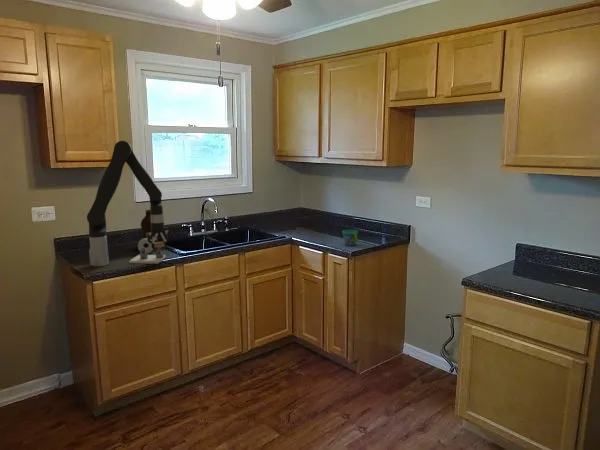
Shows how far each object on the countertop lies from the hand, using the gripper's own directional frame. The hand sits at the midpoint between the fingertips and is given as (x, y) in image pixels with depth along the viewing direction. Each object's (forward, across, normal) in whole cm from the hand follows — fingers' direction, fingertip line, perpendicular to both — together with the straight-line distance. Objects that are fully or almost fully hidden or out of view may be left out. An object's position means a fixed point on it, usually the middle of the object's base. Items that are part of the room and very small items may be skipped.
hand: (159, 248), depth 273 cm
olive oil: (+7, +4, +39) cm, 40 cm away
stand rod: (+5, -9, +2) cm, 11 cm away
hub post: (+5, 0, 0) cm, 5 cm away
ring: (-1, 0, 0) cm, 1 cm away
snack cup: (+8, +122, -34) cm, 126 cm away
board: (+7, -7, +2) cm, 10 cm away
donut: (+7, -3, +20) cm, 21 cm away
